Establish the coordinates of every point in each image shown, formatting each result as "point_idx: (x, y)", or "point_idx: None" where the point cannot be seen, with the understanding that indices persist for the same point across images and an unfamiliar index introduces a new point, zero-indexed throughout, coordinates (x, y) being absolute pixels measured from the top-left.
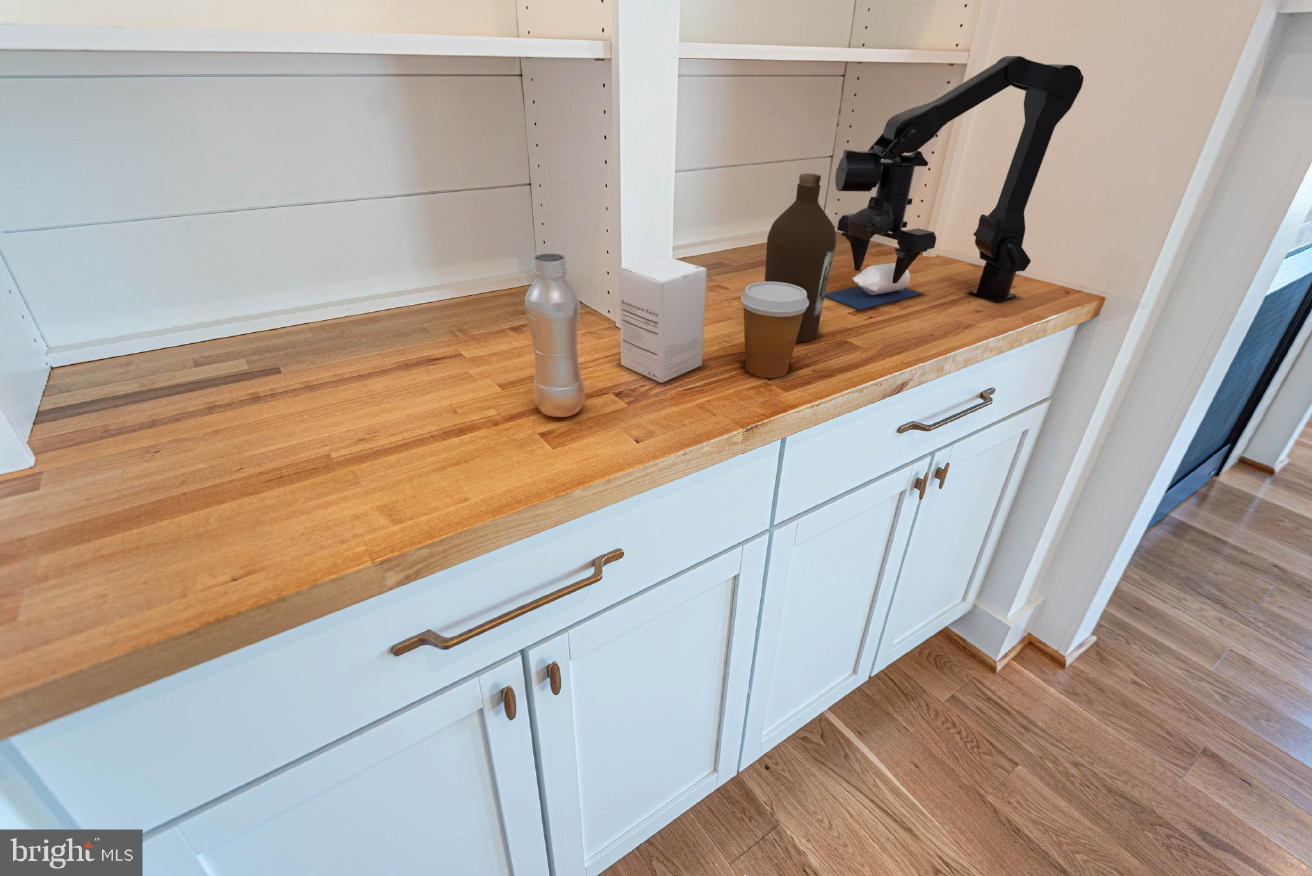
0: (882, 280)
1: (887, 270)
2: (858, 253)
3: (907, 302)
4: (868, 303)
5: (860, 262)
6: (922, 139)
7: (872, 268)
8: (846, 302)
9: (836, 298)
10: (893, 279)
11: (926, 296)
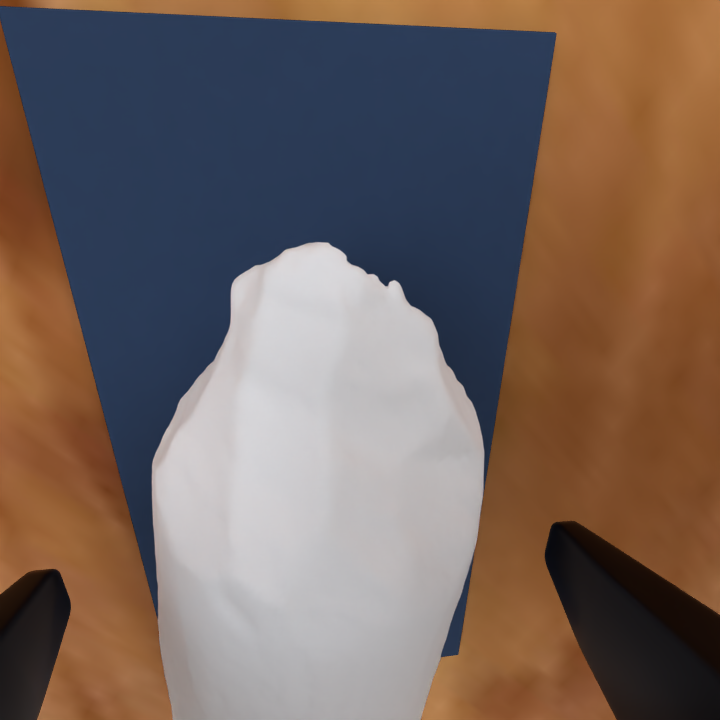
0: (154, 528)
1: (214, 689)
2: (715, 716)
3: (85, 545)
4: (127, 248)
5: (593, 622)
6: None
7: (317, 587)
8: (239, 54)
9: (387, 64)
10: (16, 601)
11: (145, 685)
